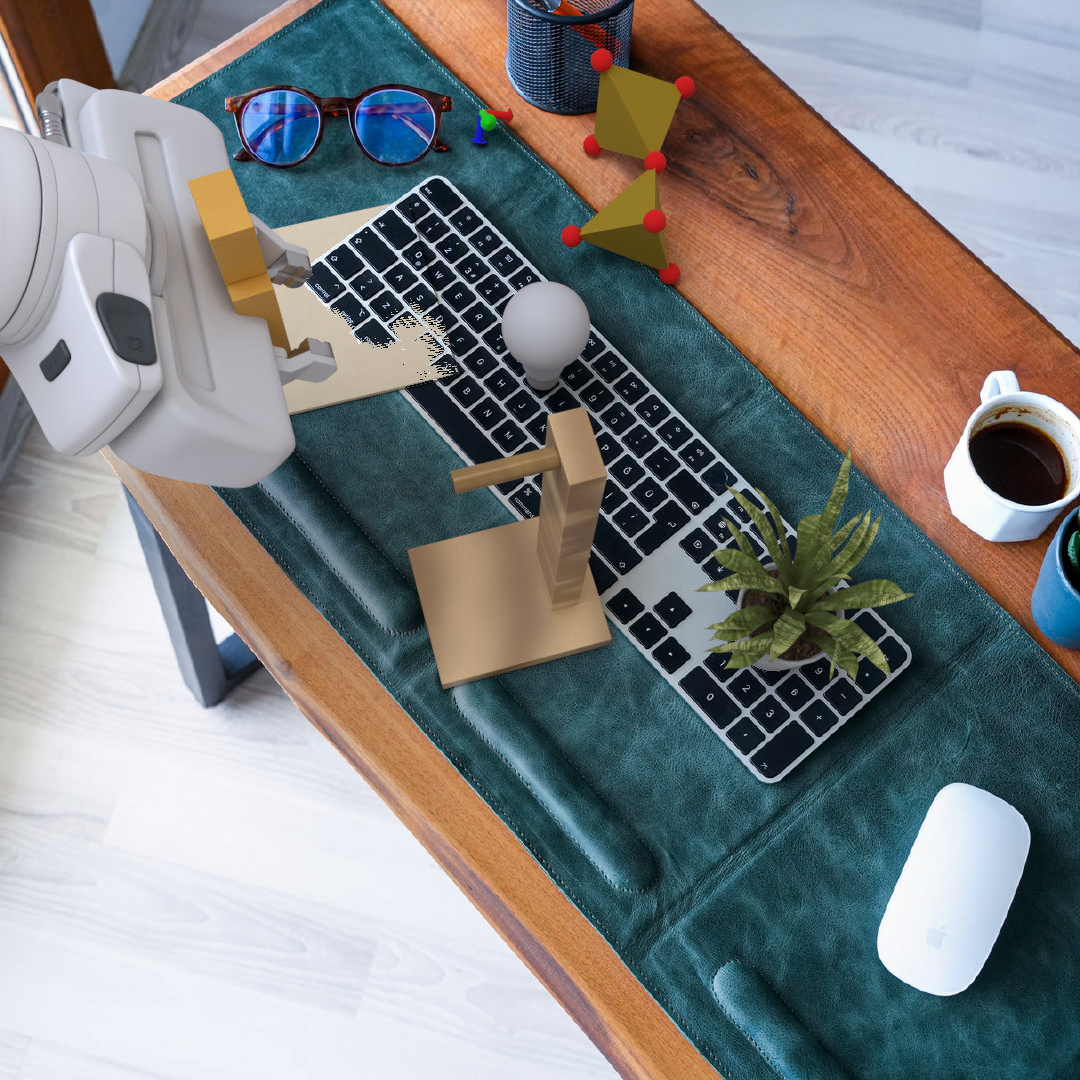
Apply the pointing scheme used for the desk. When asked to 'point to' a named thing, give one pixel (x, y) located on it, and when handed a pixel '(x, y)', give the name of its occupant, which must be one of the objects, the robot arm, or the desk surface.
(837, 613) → the house plant
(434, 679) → the desk surface
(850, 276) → the desk surface
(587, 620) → the coat rack
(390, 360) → the flat beige board
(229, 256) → the stepped golden-orange block
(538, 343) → the lightbulb
